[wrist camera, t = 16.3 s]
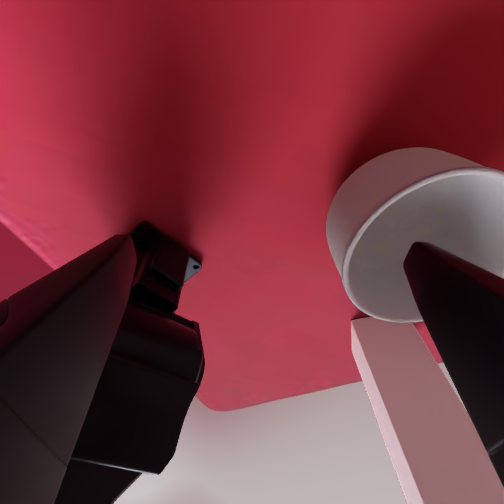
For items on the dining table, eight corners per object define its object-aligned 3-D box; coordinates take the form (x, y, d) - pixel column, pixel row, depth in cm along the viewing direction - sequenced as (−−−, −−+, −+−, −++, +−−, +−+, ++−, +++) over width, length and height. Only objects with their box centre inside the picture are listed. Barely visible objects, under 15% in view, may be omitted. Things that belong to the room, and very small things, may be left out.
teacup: (292, 233, 25) (311, 303, 18) (366, 102, 19) (433, 138, 12) (419, 273, 28) (472, 344, 22) (515, 174, 22) (628, 231, 16)
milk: (350, 349, 36) (459, 656, 18) (350, 318, 32) (485, 666, 14) (401, 341, 35) (564, 652, 17) (406, 309, 31) (619, 661, 14)
